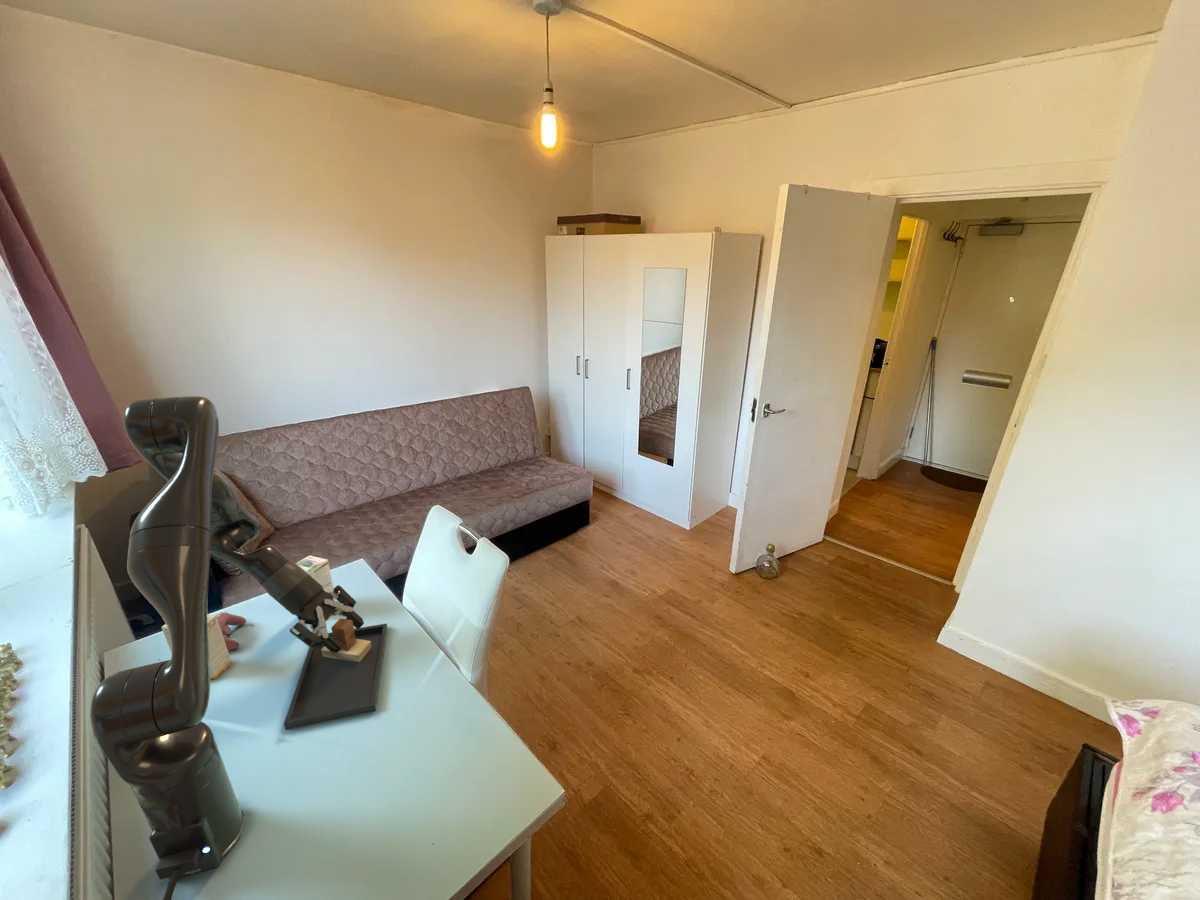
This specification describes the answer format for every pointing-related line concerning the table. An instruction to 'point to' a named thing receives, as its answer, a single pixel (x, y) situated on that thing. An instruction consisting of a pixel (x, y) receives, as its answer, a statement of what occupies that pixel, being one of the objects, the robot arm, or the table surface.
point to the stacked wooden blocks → (347, 643)
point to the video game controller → (226, 620)
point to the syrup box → (318, 571)
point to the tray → (338, 683)
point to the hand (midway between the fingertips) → (350, 637)
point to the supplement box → (211, 647)
